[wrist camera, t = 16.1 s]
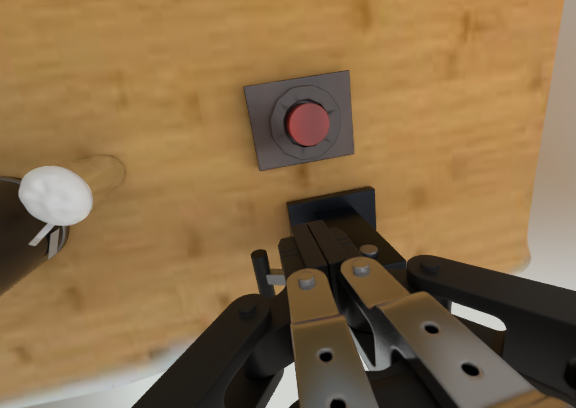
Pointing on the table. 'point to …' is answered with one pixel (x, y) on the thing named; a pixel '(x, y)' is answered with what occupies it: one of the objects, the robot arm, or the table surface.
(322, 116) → the button
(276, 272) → the switch lever
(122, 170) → the milkshake
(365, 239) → the switch bracket
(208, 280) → the table surface
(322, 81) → the button block
